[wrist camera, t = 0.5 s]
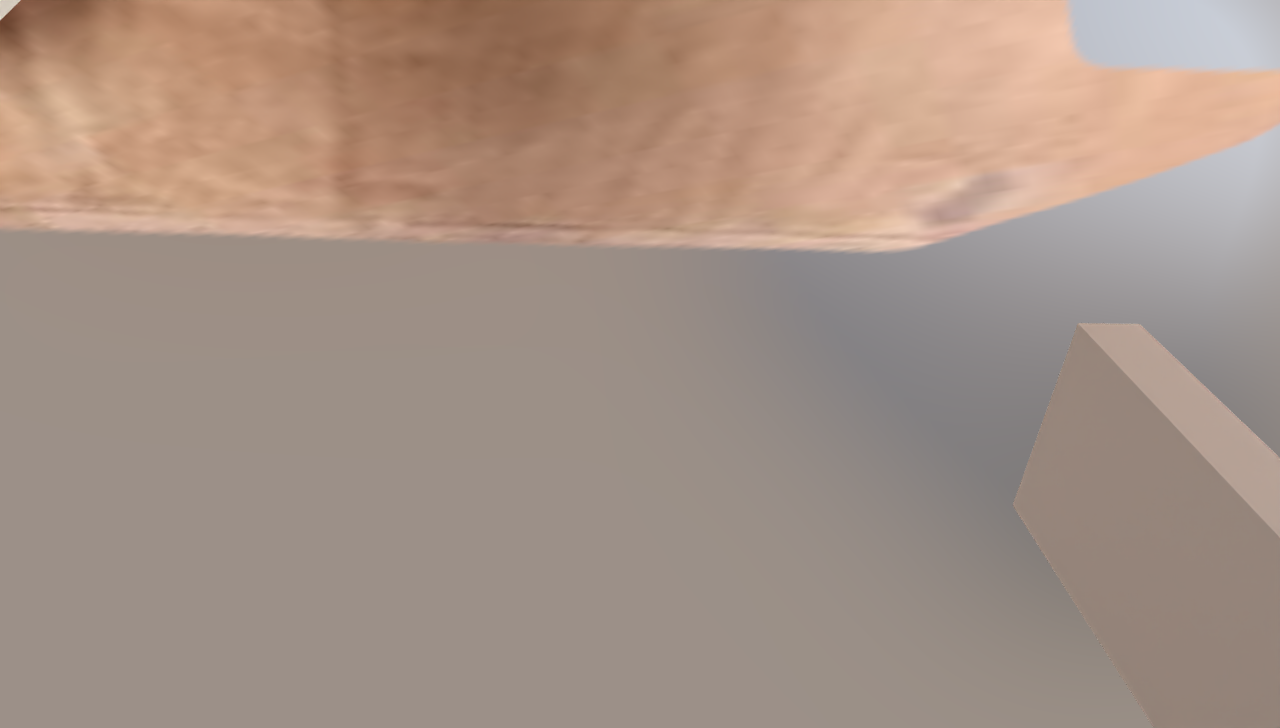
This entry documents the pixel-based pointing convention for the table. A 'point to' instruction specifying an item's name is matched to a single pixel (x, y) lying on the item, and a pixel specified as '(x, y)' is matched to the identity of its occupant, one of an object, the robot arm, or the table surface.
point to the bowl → (6, 6)
